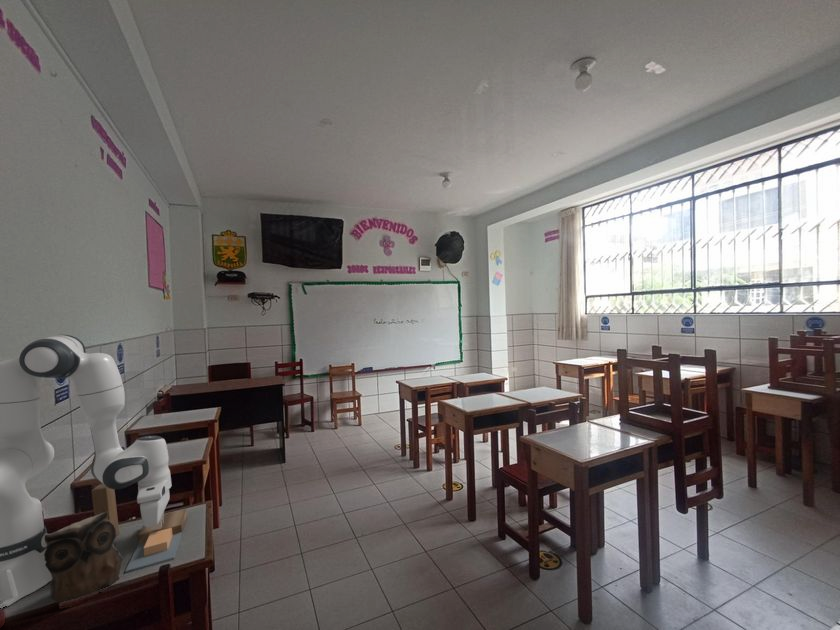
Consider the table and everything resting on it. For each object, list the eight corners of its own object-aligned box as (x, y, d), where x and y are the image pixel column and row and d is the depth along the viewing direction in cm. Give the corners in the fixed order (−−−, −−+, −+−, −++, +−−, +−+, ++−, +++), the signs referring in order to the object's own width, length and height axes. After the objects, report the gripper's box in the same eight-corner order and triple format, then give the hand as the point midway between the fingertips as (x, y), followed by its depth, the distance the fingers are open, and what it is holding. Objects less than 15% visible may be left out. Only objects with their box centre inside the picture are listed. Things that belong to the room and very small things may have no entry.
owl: (127, 575, 112) (119, 505, 111) (90, 610, 99) (81, 532, 98) (81, 579, 111) (73, 510, 111) (39, 614, 99) (30, 536, 98)
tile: (144, 556, 119) (143, 548, 119) (151, 540, 127) (150, 533, 127) (167, 549, 122) (166, 541, 121) (172, 535, 130) (171, 527, 130)
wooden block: (81, 546, 128) (75, 492, 128) (90, 538, 133) (84, 486, 132) (112, 541, 130) (106, 487, 129) (119, 533, 134) (114, 481, 134)
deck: (138, 544, 126) (138, 535, 126) (147, 526, 138) (147, 518, 137) (182, 533, 131) (181, 524, 131) (187, 516, 142) (186, 508, 142)
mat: (125, 572, 113) (125, 571, 113) (138, 544, 126) (138, 543, 126) (174, 558, 117) (173, 557, 117) (182, 533, 131) (181, 531, 131)
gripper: (151, 475, 137) (155, 514, 137) (135, 501, 118) (140, 546, 118) (172, 471, 139) (176, 509, 140) (160, 495, 120) (164, 539, 121)
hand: (159, 526), depth 129 cm, fingers closed
